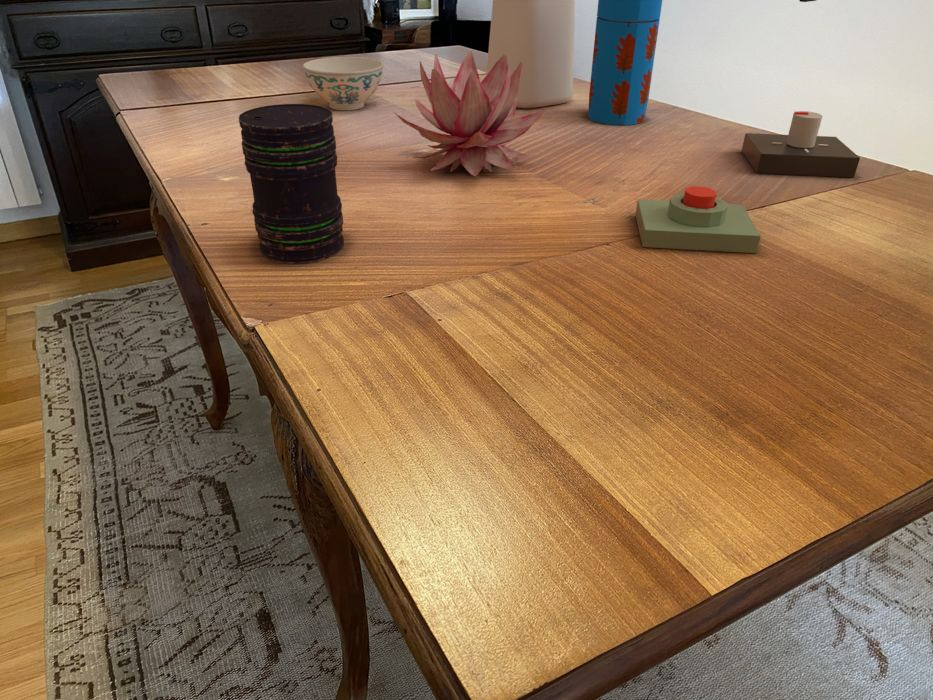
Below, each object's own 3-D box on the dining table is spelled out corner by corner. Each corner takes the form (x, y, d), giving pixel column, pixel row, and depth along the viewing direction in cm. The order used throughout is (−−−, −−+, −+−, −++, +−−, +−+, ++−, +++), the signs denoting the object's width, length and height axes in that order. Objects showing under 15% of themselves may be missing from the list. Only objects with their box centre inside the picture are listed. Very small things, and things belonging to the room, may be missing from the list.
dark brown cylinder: (336, 224, 88) (324, 100, 80) (353, 256, 80) (342, 122, 72) (254, 235, 85) (232, 107, 77) (263, 269, 77) (241, 131, 69)
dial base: (830, 155, 113) (836, 135, 112) (854, 177, 104) (860, 156, 102) (741, 151, 115) (745, 132, 113) (756, 173, 106) (761, 152, 104)
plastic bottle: (520, 112, 135) (529, -57, 120) (476, 96, 145) (479, -61, 130) (581, 102, 142) (596, -59, 127) (534, 87, 152) (543, -62, 137)
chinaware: (328, 94, 146) (324, 54, 141) (396, 100, 142) (394, 59, 138) (293, 112, 133) (288, 69, 129) (367, 118, 130) (364, 74, 126)
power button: (710, 200, 86) (713, 186, 85) (716, 211, 83) (719, 197, 82) (680, 199, 86) (683, 185, 85) (684, 210, 83) (687, 195, 82)
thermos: (656, 117, 132) (679, -34, 119) (625, 128, 126) (645, -30, 112) (608, 107, 138) (624, -38, 125) (575, 117, 132) (589, -35, 118)
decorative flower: (568, 174, 104) (578, 66, 96) (442, 200, 95) (441, 83, 87) (491, 138, 120) (493, 43, 112) (376, 157, 111) (370, 54, 102)
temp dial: (809, 141, 109) (818, 109, 107) (817, 148, 106) (826, 116, 103) (783, 140, 110) (791, 108, 107) (790, 147, 106) (798, 115, 104)
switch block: (738, 220, 90) (745, 190, 88) (756, 253, 81) (764, 221, 79) (635, 215, 91) (639, 185, 89) (642, 247, 83) (647, 215, 81)
